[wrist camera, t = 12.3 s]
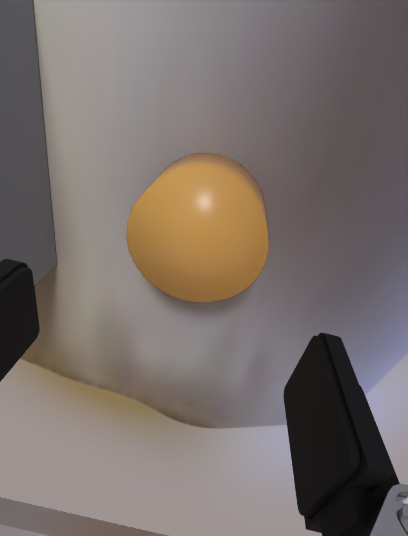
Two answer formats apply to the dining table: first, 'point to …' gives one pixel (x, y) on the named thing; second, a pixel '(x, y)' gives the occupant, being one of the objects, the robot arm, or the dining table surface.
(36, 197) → the storage box
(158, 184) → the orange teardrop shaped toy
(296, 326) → the dining table surface
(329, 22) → the dining table surface
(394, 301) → the dining table surface
